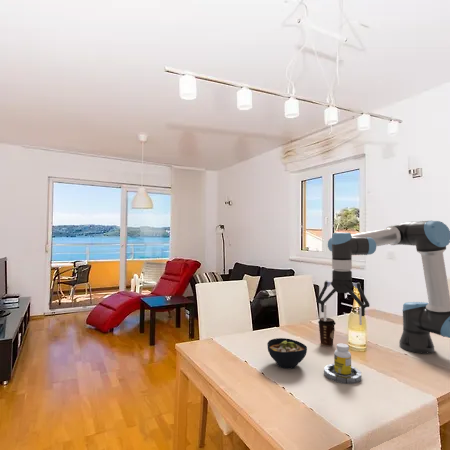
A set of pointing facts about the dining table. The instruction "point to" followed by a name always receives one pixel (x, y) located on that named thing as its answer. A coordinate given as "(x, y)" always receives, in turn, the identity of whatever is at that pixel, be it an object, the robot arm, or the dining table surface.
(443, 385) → the dining table surface
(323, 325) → the coffee cup
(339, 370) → the pill bottle
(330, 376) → the ring seat
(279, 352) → the bowl
